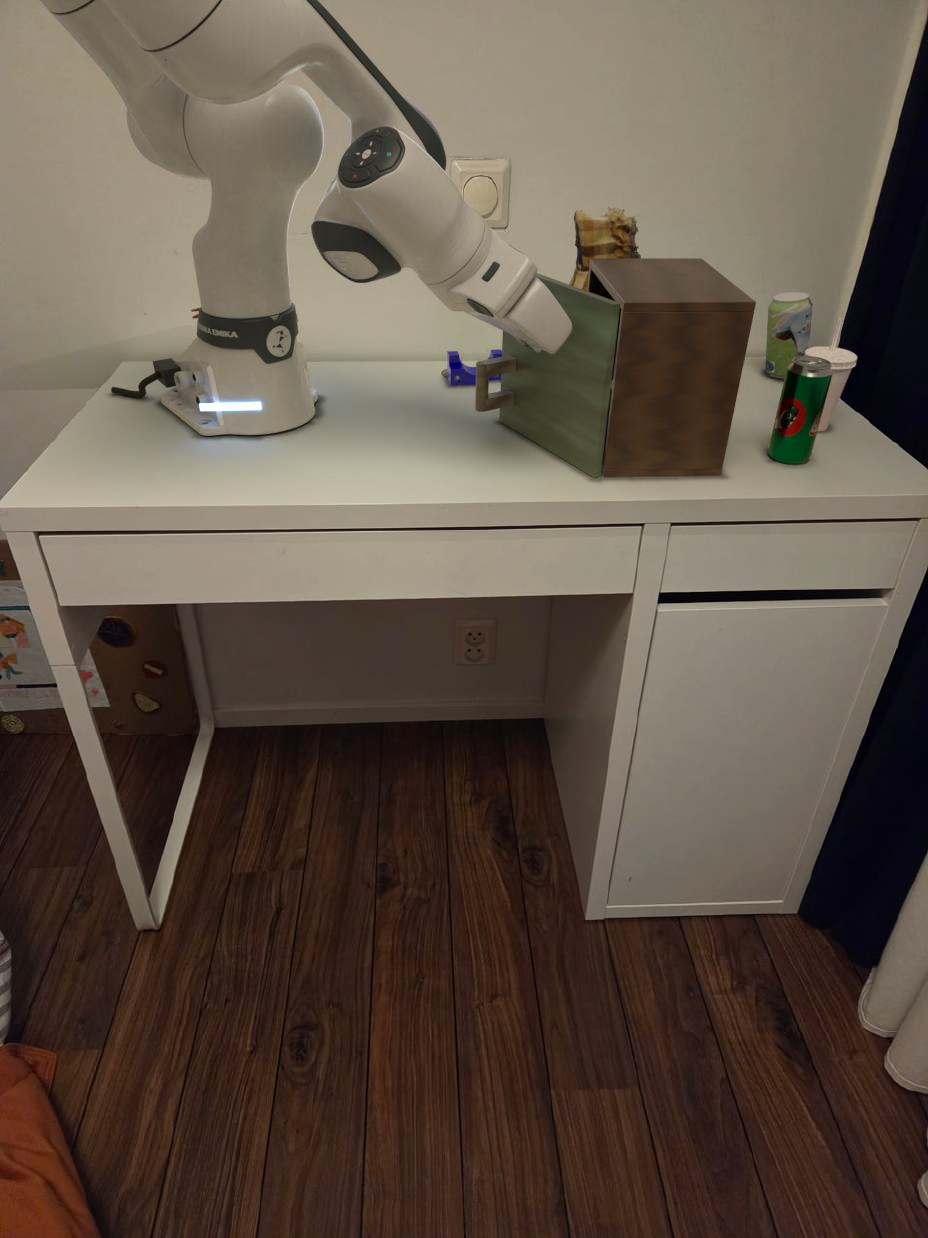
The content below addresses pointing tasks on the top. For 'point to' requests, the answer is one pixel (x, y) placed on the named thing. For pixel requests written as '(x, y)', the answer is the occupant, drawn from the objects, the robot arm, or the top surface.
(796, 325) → the beverage can
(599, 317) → the door
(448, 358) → the cable holder
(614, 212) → the plaid cloth bag
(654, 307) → the cupboard
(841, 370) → the smoothie
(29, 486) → the top surface
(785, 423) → the soda can
